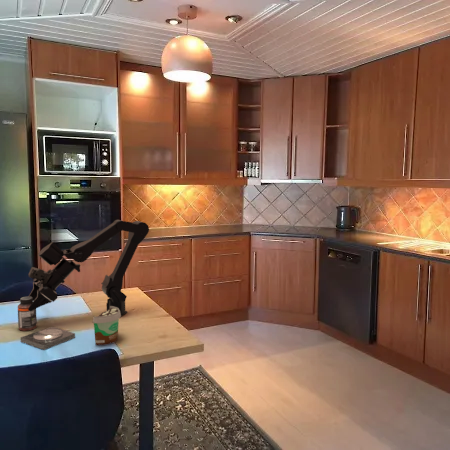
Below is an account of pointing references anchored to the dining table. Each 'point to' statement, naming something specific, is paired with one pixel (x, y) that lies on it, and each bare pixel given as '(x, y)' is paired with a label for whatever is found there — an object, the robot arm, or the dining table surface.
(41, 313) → the dining table surface
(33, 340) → the plate
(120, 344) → the dining table surface
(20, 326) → the supplement bottle
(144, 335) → the dining table surface
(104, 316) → the food container
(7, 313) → the dining table surface
